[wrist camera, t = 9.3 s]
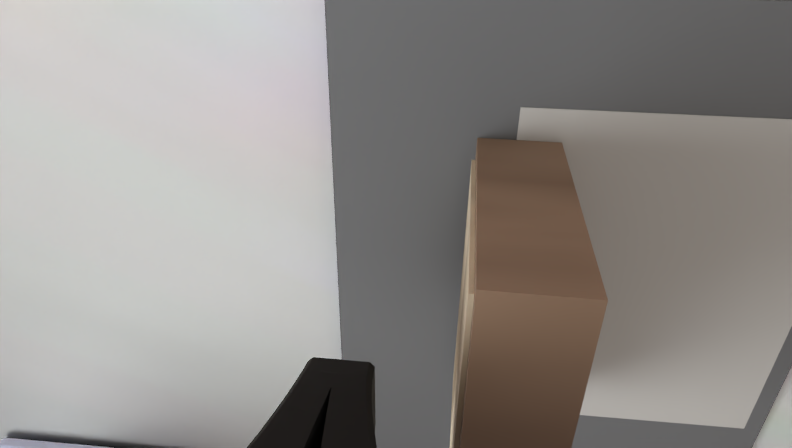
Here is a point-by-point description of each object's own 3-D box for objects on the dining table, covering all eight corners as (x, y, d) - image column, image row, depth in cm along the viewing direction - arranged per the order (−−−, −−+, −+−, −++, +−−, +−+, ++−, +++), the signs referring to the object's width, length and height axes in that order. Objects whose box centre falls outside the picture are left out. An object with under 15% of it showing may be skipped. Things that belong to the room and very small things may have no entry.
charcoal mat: (722, 488, 21) (726, 499, 20) (348, 454, 22) (346, 464, 21) (952, 2, 12) (967, 7, 12) (327, -17, 13) (323, -13, 13)
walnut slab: (521, 383, 18) (537, 583, 13) (453, 376, 19) (442, 572, 14) (562, 142, 14) (607, 300, 9) (473, 137, 14) (469, 288, 9)
